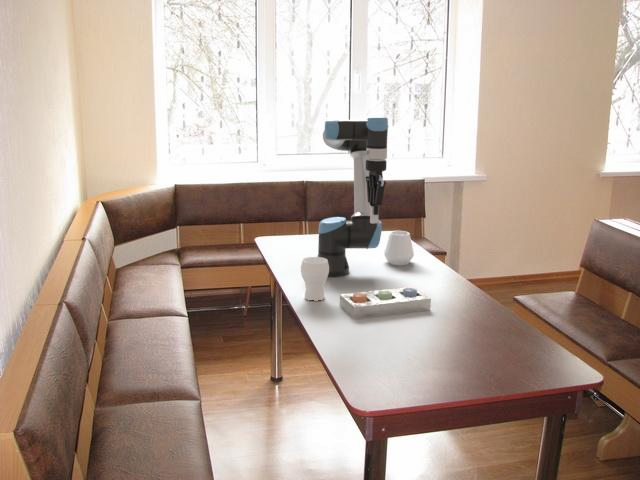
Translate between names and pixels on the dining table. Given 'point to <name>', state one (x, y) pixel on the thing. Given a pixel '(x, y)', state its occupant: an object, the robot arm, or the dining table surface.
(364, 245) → the robot arm
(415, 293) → the button slate
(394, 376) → the dining table surface
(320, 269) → the cup
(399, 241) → the white vase
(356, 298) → the button terracotta
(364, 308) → the panel
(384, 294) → the button sage
